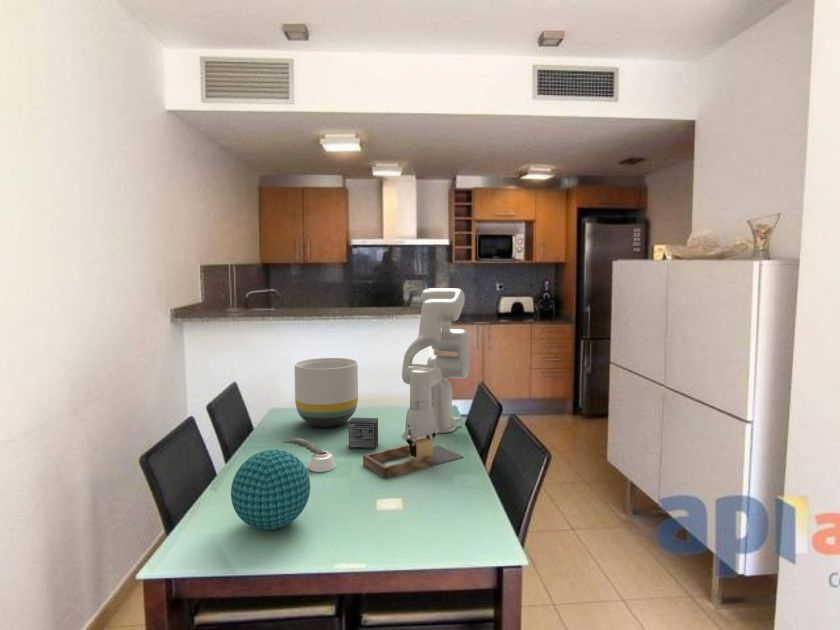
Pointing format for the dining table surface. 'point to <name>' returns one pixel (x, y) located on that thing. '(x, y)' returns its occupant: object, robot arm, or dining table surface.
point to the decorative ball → (270, 489)
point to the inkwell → (316, 456)
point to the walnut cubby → (389, 471)
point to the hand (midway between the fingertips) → (420, 453)
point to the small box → (363, 433)
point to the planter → (326, 390)
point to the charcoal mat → (444, 455)
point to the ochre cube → (423, 447)
